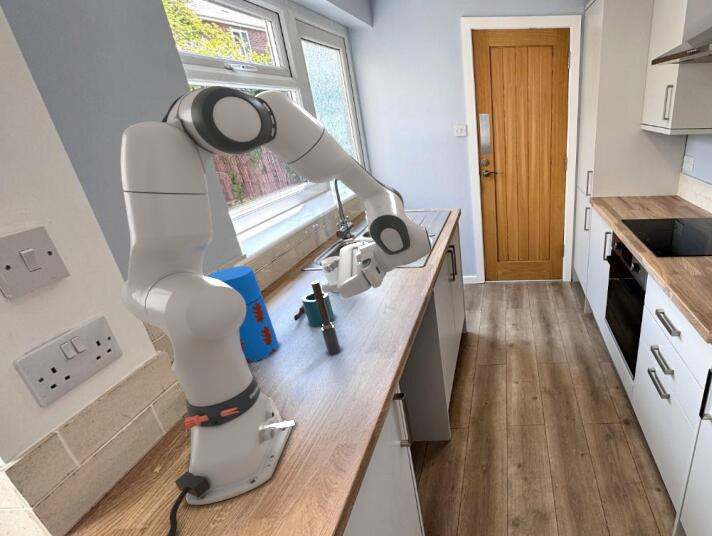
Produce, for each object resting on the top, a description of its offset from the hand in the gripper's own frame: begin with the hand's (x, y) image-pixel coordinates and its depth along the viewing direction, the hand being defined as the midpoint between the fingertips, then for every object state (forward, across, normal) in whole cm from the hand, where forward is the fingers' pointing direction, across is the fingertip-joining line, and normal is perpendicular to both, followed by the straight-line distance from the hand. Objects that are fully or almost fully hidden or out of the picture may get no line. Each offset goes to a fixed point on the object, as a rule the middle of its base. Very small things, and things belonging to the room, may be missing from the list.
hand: (324, 278), depth 107 cm
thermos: (+30, -4, +17) cm, 35 cm away
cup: (+14, -42, +30) cm, 53 cm away
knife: (+23, -26, +24) cm, 42 cm away
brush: (+9, +4, +21) cm, 23 cm away
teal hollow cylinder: (+16, -17, +24) cm, 33 cm away
